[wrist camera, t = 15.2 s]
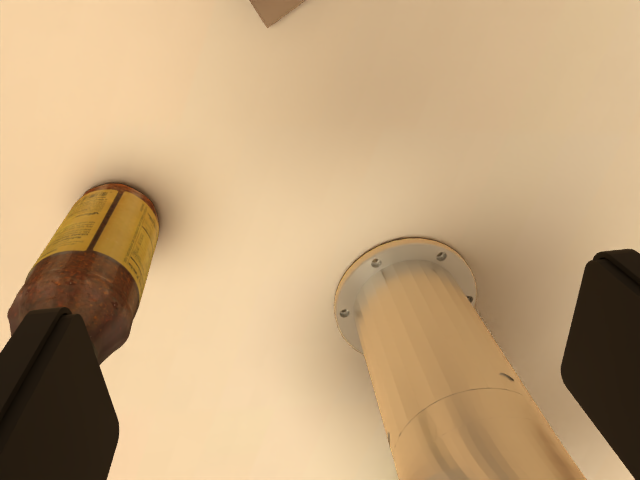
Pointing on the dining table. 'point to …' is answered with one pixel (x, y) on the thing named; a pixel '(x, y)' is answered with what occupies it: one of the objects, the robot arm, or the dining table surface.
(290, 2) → the post board
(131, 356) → the dining table surface
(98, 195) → the sauce bottle
